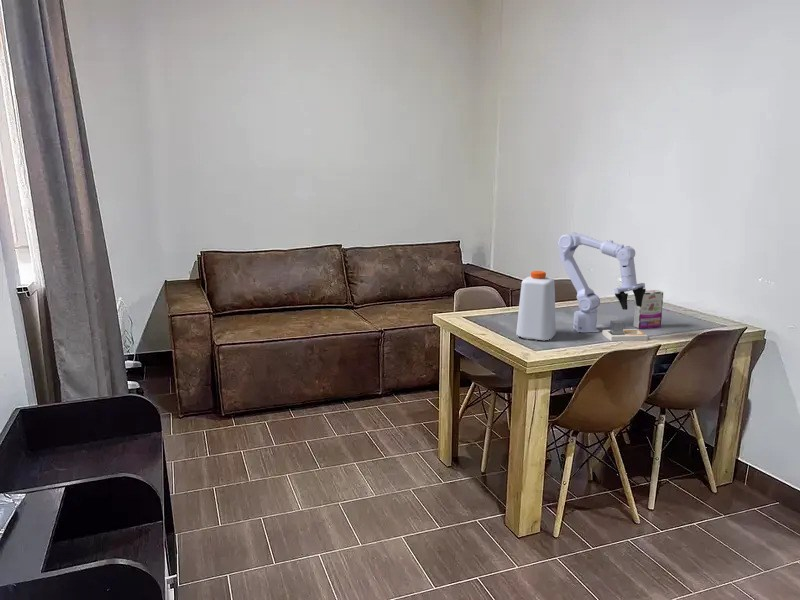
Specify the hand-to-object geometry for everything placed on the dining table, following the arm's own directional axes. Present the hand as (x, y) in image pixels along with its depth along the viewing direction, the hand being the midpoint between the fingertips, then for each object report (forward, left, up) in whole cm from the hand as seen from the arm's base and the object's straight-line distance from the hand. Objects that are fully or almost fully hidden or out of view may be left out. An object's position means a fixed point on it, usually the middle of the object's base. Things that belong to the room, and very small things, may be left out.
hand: (632, 307), depth 251 cm
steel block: (-6, +1, -13) cm, 14 cm away
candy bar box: (+14, +16, -13) cm, 25 cm away
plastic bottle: (-39, +6, -13) cm, 41 cm away
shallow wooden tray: (-2, +1, -13) cm, 13 cm away
